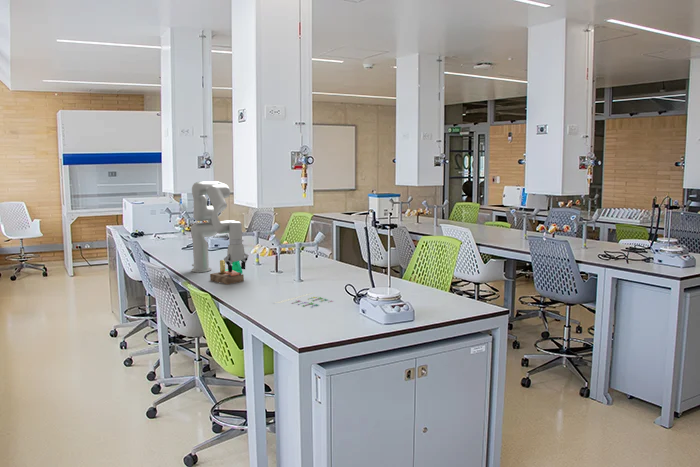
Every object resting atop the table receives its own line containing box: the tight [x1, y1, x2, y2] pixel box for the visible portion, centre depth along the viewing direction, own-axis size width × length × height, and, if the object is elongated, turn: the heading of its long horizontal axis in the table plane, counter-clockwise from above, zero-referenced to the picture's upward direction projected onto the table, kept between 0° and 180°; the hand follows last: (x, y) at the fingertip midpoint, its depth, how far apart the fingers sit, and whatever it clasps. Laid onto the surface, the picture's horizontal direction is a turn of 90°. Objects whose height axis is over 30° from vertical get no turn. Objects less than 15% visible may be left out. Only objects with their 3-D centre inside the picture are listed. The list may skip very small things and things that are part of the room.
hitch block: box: [209, 271, 245, 285], centre depth 342 cm, size 17×12×5 cm
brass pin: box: [219, 259, 226, 274], centre depth 345 cm, size 3×3×12 cm
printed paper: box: [274, 292, 334, 308], centre depth 290 cm, size 30×30×2 cm
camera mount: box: [225, 261, 243, 274], centre depth 362 cm, size 12×8×10 cm, turn 39°
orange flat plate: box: [224, 270, 240, 276], centre depth 339 cm, size 7×6×1 cm
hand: (236, 270), depth 342 cm, fingers open, 9 cm apart
